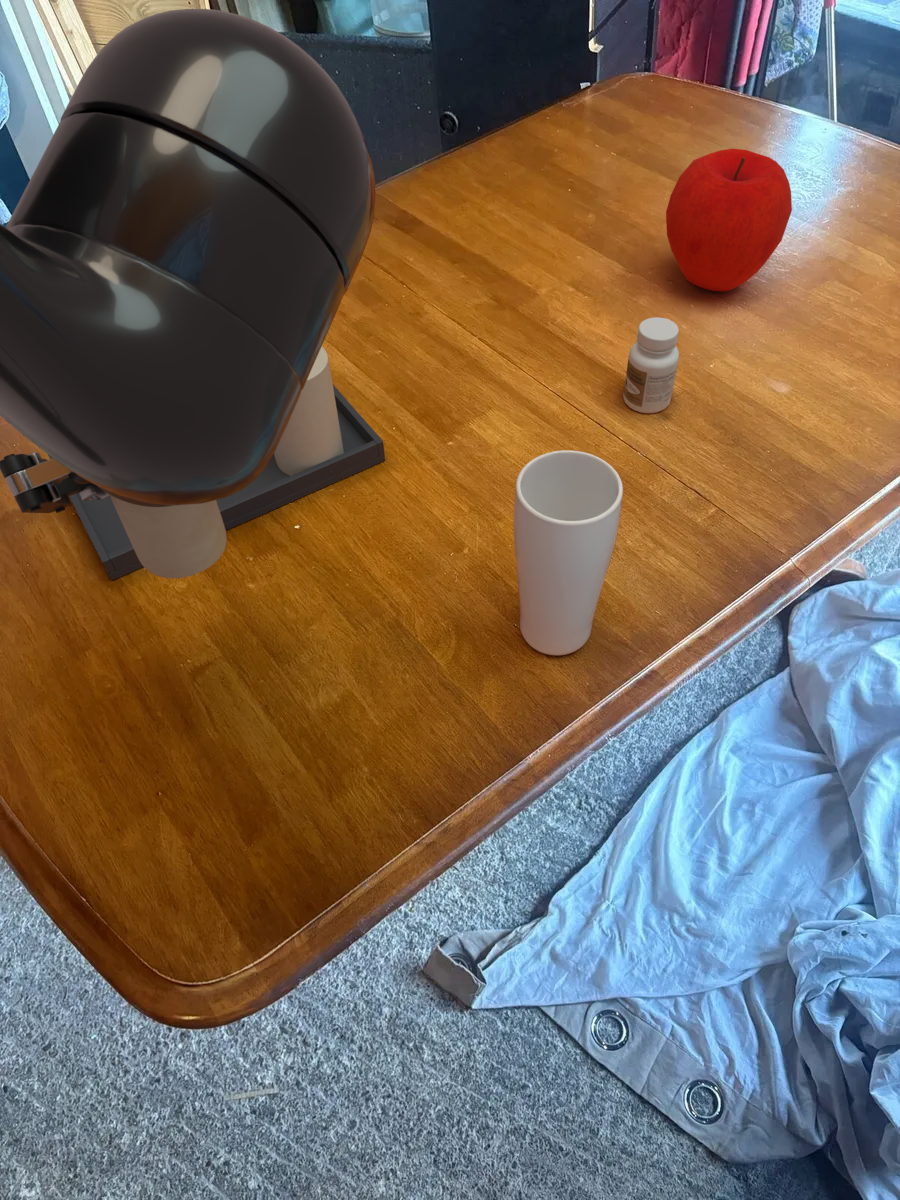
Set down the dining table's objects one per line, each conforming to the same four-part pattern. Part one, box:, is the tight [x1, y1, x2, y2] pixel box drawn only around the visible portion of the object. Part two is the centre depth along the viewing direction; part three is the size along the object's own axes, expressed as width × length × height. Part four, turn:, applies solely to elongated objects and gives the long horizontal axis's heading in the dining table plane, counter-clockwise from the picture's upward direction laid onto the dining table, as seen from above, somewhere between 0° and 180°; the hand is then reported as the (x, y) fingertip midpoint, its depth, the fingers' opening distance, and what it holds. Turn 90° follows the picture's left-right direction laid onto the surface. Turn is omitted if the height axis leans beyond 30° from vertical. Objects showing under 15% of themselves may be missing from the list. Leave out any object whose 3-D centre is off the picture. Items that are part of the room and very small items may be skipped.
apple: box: [665, 148, 793, 292], centre depth 89 cm, size 12×12×13 cm
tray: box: [47, 384, 386, 581], centre depth 78 cm, size 25×15×2 cm, turn 122°
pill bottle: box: [622, 316, 680, 414], centre depth 80 cm, size 4×4×8 cm
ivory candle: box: [274, 345, 344, 476], centre depth 75 cm, size 6×6×10 cm
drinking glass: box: [512, 449, 624, 656], centre depth 61 cm, size 7×7×15 cm
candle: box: [110, 496, 227, 579], centre depth 51 cm, size 6×6×10 cm
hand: (146, 460), depth 52 cm, fingers closed on candle, 5 cm apart
